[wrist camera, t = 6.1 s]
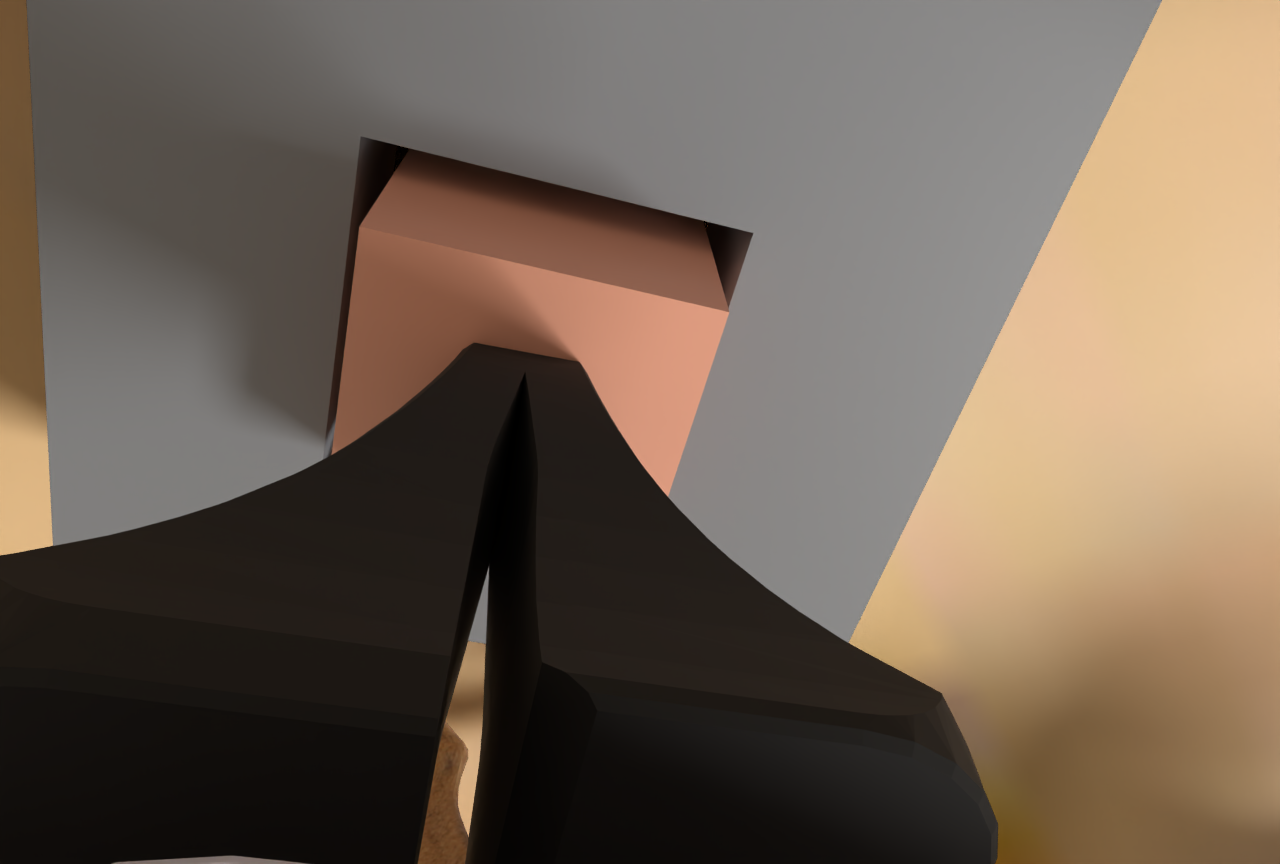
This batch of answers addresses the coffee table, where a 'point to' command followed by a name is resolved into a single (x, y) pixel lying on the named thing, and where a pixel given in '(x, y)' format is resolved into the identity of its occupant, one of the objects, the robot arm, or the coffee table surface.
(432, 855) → the lion figurine
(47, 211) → the button housing
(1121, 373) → the coffee table surface
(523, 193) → the salmon pink block
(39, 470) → the coffee table surface
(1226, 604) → the coffee table surface
